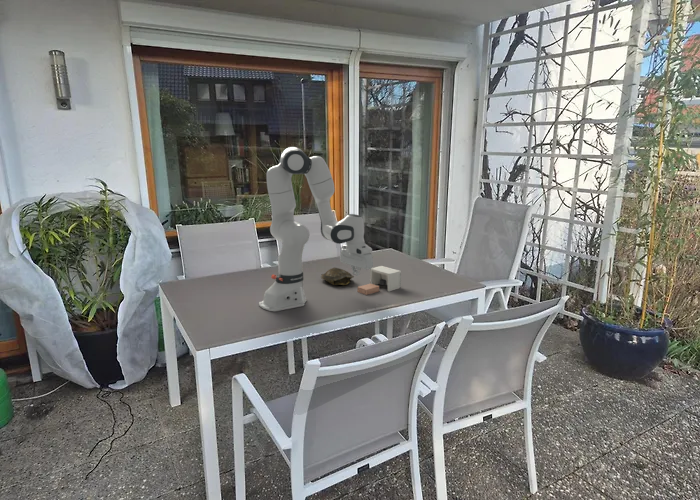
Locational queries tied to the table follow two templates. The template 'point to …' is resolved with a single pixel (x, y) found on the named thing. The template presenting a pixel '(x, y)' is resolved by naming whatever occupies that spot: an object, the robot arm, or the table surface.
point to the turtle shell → (337, 276)
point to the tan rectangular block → (368, 289)
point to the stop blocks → (383, 282)
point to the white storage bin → (386, 277)
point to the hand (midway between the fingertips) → (356, 274)
